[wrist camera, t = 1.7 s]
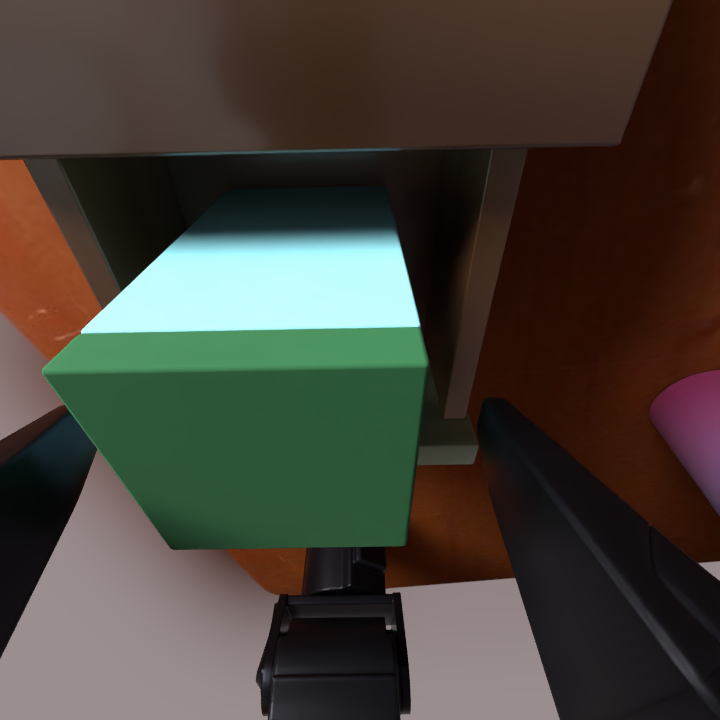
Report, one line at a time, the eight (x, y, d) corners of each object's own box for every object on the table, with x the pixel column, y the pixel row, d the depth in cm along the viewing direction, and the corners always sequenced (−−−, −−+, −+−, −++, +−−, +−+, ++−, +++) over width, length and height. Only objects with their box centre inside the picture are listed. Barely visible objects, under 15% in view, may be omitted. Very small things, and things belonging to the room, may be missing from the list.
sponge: (383, 319, 16) (407, 547, 9) (258, 322, 16) (170, 551, 9) (386, 185, 13) (431, 363, 5) (228, 188, 13) (35, 370, 5)
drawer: (435, 417, 22) (458, 517, 17) (230, 421, 22) (194, 521, 17) (493, 63, 12) (591, 59, 7) (107, 72, 12) (-69, 75, 7)
